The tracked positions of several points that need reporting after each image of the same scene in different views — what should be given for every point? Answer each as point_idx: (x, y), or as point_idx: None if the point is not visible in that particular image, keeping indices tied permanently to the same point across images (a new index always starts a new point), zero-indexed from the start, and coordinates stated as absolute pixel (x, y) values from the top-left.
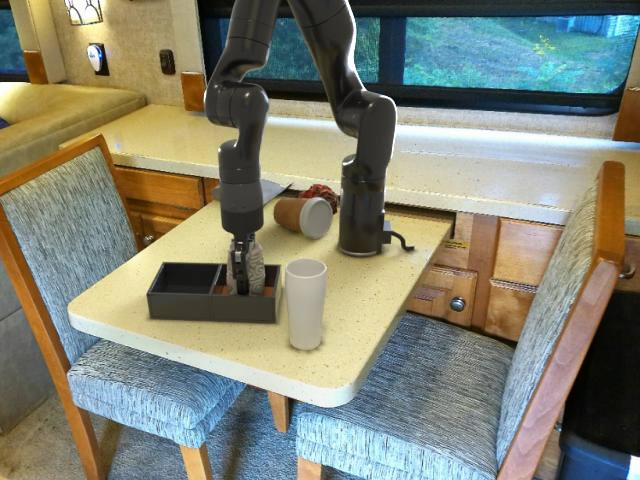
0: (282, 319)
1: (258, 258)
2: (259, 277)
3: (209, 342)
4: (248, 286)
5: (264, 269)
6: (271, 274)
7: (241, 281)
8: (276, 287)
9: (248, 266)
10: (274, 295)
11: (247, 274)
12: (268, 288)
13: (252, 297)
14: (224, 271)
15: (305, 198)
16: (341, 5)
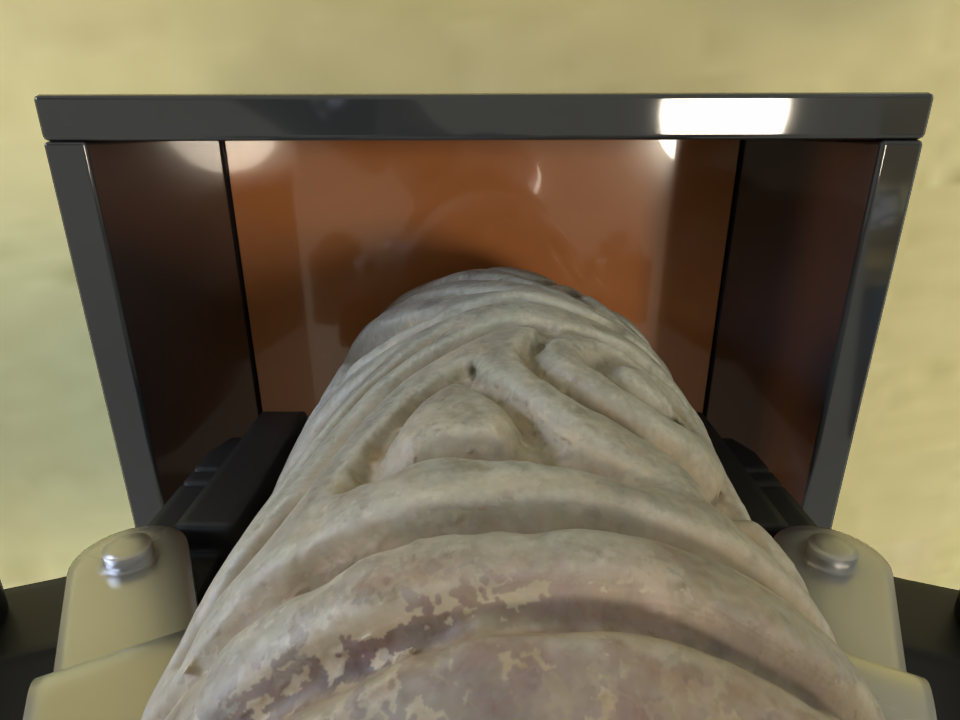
0: (695, 52)
1: (738, 568)
2: (659, 365)
3: (925, 529)
4: (733, 455)
5: (476, 324)
6: (170, 218)
7: None
8: (672, 103)
9: (858, 656)
10: (876, 110)
11: (887, 582)
12: (263, 227)
13: (866, 372)
14: None
15: None
16: None
